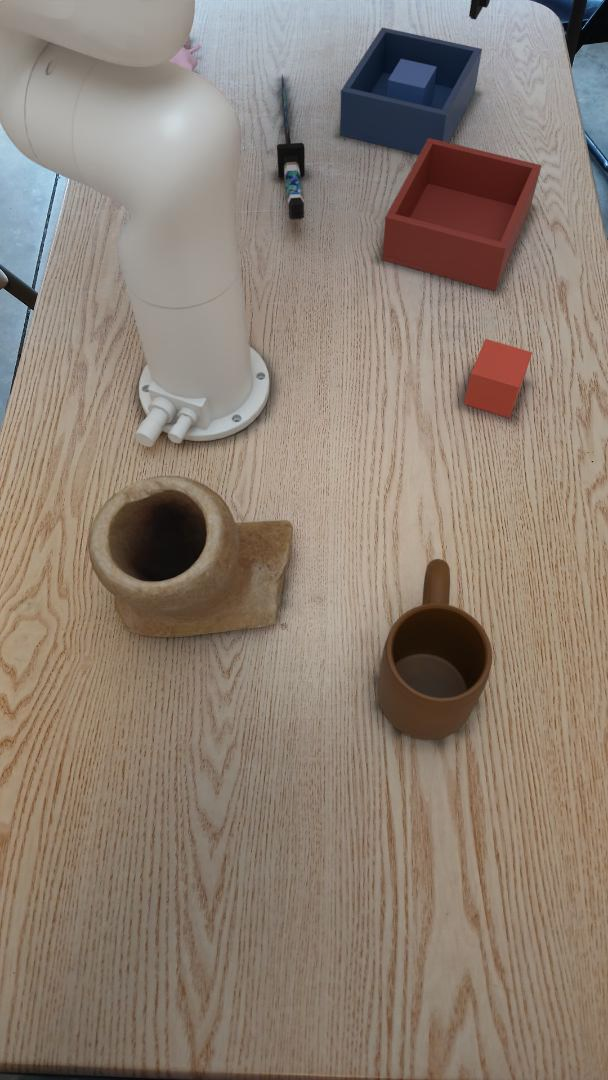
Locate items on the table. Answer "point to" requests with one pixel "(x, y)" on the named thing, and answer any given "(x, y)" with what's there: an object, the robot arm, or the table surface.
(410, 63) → the blue block
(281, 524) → the stone cup
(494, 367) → the red block
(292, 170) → the knife
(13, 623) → the table surface
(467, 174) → the red bin
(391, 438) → the table surface
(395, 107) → the blue bin
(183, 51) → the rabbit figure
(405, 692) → the mug
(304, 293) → the table surface
